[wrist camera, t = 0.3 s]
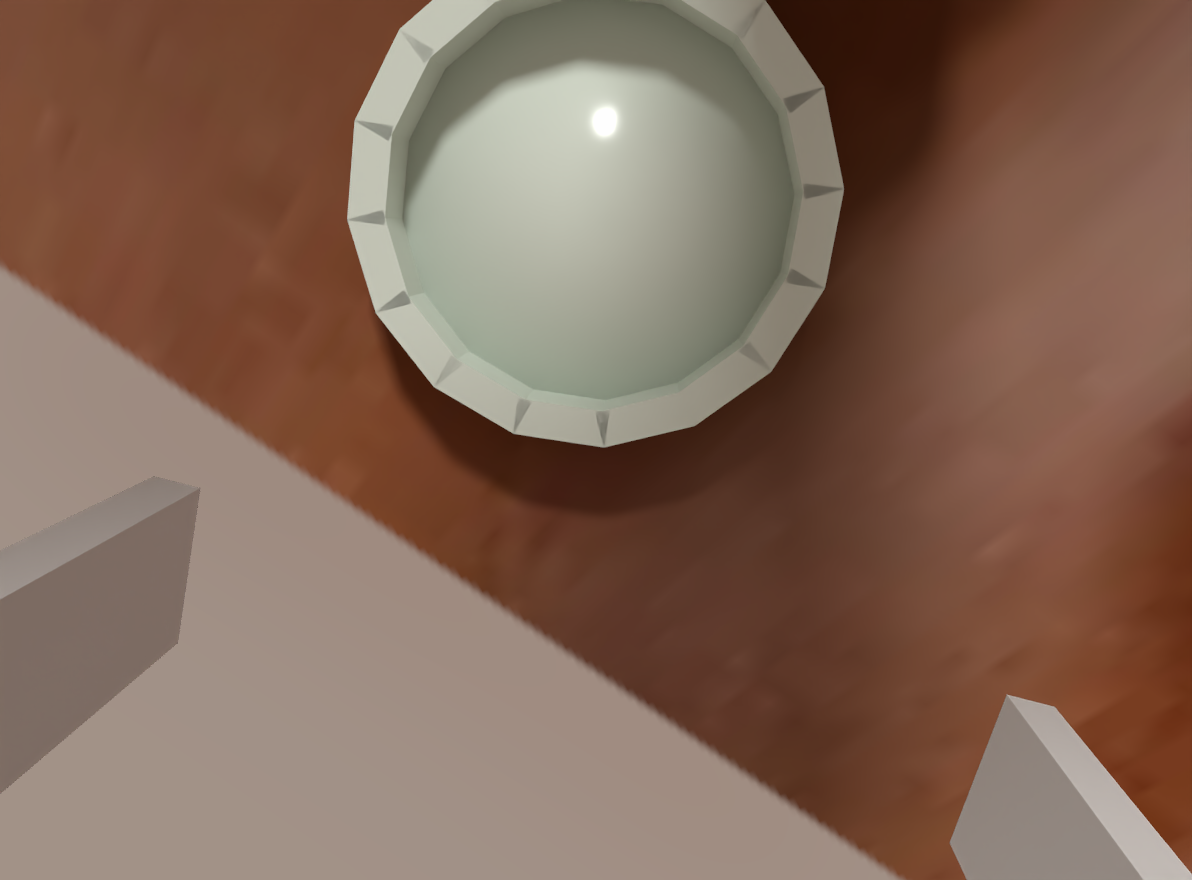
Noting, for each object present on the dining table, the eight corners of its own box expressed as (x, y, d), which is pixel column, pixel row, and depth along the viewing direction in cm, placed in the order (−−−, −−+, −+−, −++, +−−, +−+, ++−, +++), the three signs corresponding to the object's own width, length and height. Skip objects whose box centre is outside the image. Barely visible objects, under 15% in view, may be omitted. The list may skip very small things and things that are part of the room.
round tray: (397, -65, 37) (370, -95, 34) (865, -3, 37) (886, -28, 33) (360, 392, 42) (333, 406, 38) (778, 455, 41) (788, 475, 37)
